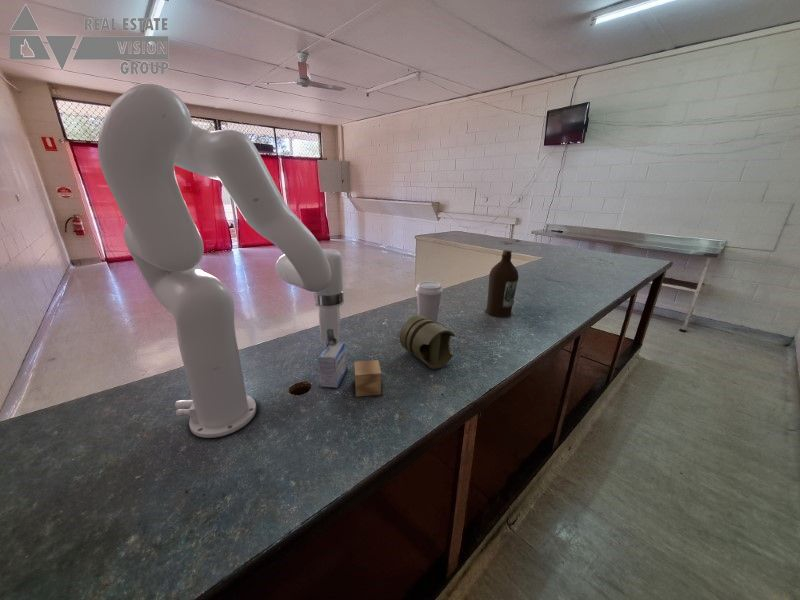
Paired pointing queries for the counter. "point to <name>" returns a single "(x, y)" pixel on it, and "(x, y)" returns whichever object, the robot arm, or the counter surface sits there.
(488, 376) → the counter surface
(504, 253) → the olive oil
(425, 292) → the coffee cup
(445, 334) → the piston
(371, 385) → the maple block
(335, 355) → the medicine box
